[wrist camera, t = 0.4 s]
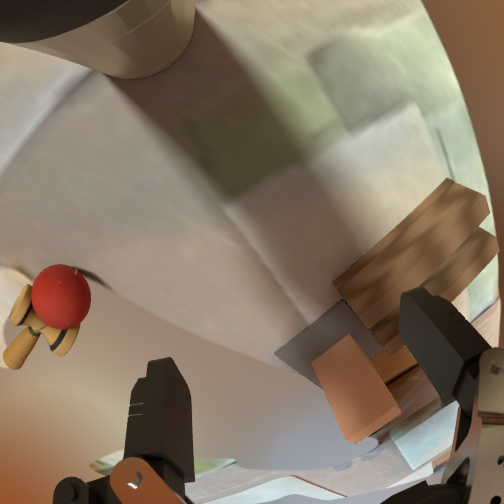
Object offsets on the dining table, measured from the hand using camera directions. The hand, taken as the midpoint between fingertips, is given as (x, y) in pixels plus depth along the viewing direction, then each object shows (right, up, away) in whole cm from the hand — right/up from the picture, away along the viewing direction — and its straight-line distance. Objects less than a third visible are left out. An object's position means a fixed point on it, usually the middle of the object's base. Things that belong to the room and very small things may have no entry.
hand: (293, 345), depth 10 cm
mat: (+9, -9, +28) cm, 31 cm away
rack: (+17, +3, +24) cm, 29 cm away
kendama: (-24, -4, +19) cm, 31 cm away
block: (+9, -9, +28) cm, 31 cm away
